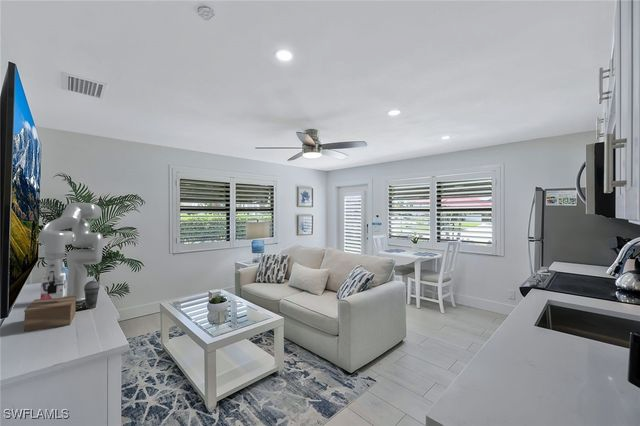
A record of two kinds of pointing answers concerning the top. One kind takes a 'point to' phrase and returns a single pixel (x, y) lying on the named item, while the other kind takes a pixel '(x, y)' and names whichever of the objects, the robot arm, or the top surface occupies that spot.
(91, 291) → the beverage cup
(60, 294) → the ink box
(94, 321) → the top surface
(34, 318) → the wooden box
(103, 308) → the top surface
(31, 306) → the brown wooden board
